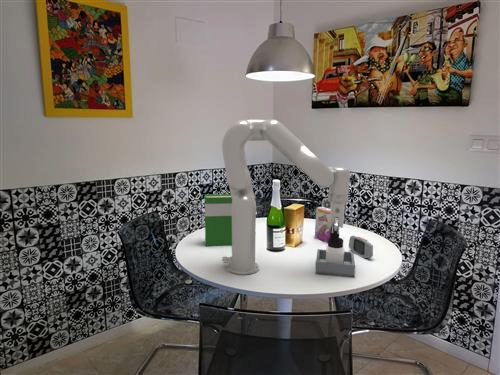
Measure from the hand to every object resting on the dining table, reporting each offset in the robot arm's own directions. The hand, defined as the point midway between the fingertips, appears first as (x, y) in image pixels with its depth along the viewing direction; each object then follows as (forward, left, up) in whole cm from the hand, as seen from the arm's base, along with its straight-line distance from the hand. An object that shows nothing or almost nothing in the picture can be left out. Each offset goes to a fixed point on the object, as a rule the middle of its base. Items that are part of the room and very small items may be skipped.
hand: (334, 239), depth 150 cm
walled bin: (+1, 0, -13) cm, 13 cm away
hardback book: (-53, +19, -13) cm, 57 cm away
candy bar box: (-4, +36, -13) cm, 38 cm away
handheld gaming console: (+12, +19, -13) cm, 26 cm away
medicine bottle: (+1, 0, -12) cm, 12 cm away
